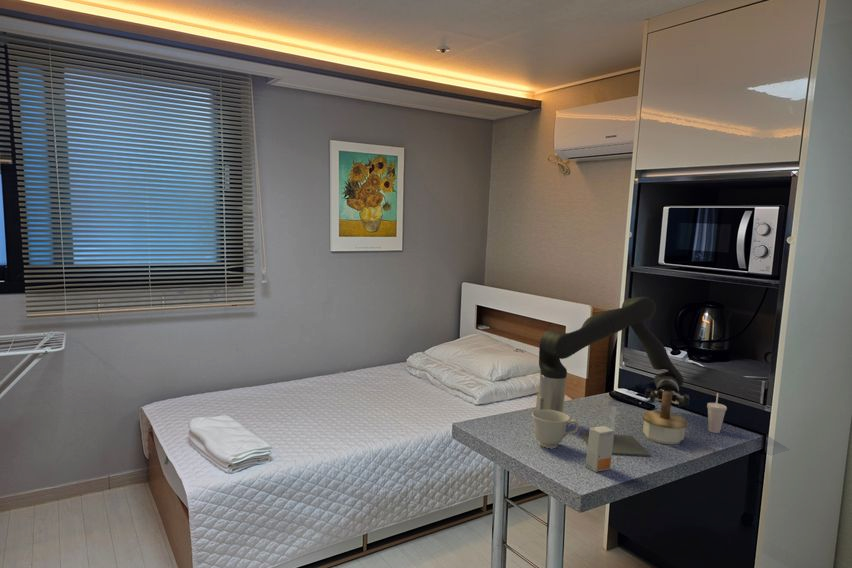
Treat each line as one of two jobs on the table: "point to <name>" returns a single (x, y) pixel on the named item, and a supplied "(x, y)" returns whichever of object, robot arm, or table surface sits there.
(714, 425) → the smoothie
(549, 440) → the teacup
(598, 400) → the table surface
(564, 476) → the table surface
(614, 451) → the mat
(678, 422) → the lid
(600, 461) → the skincare box
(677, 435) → the bowl
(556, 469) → the table surface
